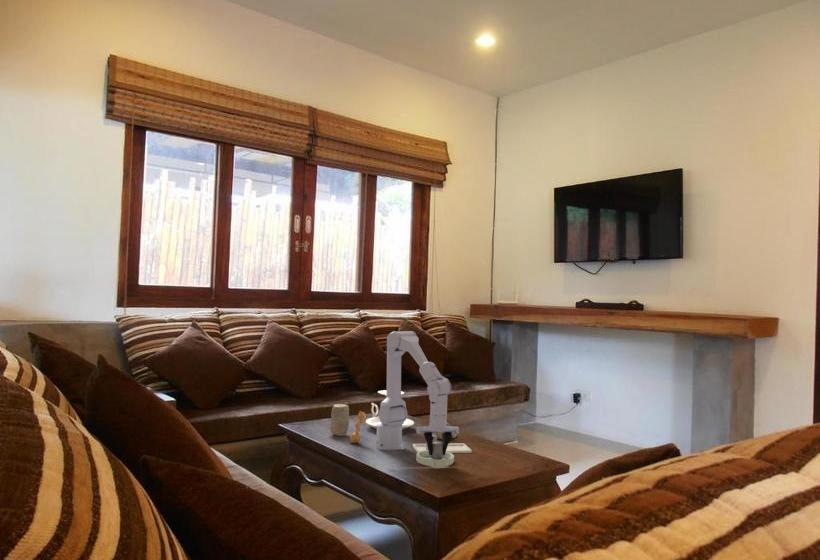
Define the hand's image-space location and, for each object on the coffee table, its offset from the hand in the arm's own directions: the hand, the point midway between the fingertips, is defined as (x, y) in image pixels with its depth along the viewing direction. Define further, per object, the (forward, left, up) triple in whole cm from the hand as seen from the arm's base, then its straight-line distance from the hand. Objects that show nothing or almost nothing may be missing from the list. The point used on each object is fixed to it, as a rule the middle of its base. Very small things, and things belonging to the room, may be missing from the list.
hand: (436, 454), depth 195 cm
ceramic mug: (+12, +35, -4) cm, 37 cm away
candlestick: (-9, +52, -4) cm, 53 cm away
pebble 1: (+2, +16, -3) cm, 17 cm away
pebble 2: (0, 0, -1) cm, 1 cm away
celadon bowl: (0, +2, -3) cm, 4 cm away
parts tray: (+6, +16, -3) cm, 18 cm away
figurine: (-24, +29, -4) cm, 38 cm away
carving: (-30, +41, -4) cm, 51 cm away
